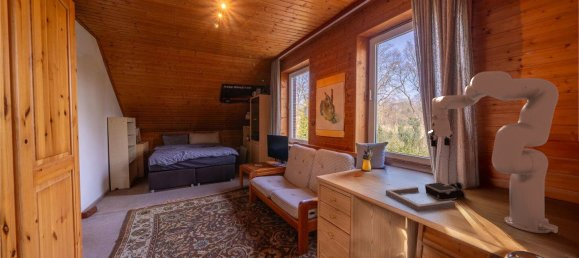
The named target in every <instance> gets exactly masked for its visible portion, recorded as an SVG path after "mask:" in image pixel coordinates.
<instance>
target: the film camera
mask: <svg viewBox="0 0 579 258" xmlns="http://www.w3.org/2000/svg"><path fill="white" fill-rule="evenodd" d="M424 189H425V194H427V195H428V196H431V197H433V198H435V199H437V200H438V201H439V202H442V201H450V200H452V201H454V200H457V199H461V198H466V197H467V194H466V192H465V191H464V190H462V189H464V184H463V182H461V181H457V182H455V183H448V184H447V183H441V182H432V183H427V184H426V183H425V184H424Z"/></svg>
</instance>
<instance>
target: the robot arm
mask: <svg viewBox="0 0 579 258" xmlns="http://www.w3.org/2000/svg"><path fill="white" fill-rule="evenodd" d="M487 96H488V97H491V98H494V99H497V100H500V101H501V100H502V101H521V100H526V103H525V104H524V105H523V107H522V108H521V110H520V112H519V117H518V121H517V123H508V124H504V125H503V126H501V127H500V128H499V129H498V130H497V132H496V134H495V138H494V144H493V149H492V155H491V164H492V166H493V168H494V169H495V170H496V171H498V172H499V173H500V174H506V175H510V177H509V215H508V216H505V217H504V222H505V223H506V224H507V225H509V226H511V227H513V228H516V229H519V230H522V231H525V232H529V233H538V234H549V233H551V232H552V233H555V234H557V233H558V231H559V226H557V225H554V224H551V223H550V222H549V219H548V218H546V217H545V214H546V213H545V187H546V186H545V185H546V183H545V182H546V177H547V176H546V175H547V171H548V168H549V160H548V157H547V156H546V155H545V153H543V152H541V151H540V150H537V149H533V147H540V146H543V145H544V144H546V143H547V141H548V140H549V137H550V132H551V127H552V123H553V122H552V121H553V117H554V113H555V110H556V108H557V107H556V106H557V104H558V101H559V97H560V96H559V89H558V88H557V86H556V85H555V84H554V83H553V82H551V81H549V80H547V79H543V78H537V77H523V78H512V76H511V74H509V72H506V71H499V70H495V71H492V70H491V71H482V72H478V73H477V74H475V75H474V76H473V77H472V78H471V80H470V83H469V84H467V86H466V87H465V93H463V94H459V95H458V94H456V95H455V94H454V95H445V96H444V95H443V96H439V97H434V98H433V99H432V100H431V101H432V103H431V104H432V105H431V108H432V109H431V110H432V116H431V119H432V120H431V125H430V131H428V132H427V136H428V139H429V140H430V147H433V148H436V147H437V140H436V139H437V138H444V139H443V145H444V146H448V147H450V146H451V139H452V136H453V134H454V131H452V130H451V125H450V121H449V113H448V111H449V110H452V109H453V110H455V109H465V108H467V107H470V106H473V105H475V104H476V103H478V102H479V101H480V99H482V98H484V97H487Z"/></svg>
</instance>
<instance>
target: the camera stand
mask: <svg viewBox="0 0 579 258" xmlns="http://www.w3.org/2000/svg"><path fill="white" fill-rule="evenodd" d="M417 192H419V187H418V186H411V187H401V188H400V187H399V188H393V189H385V194H386V195H387V194H388V195H387V196H389V195H390V196H392V197H393V198H392V197H391V198H392V199H394V198H395V200H396V199H397V200H396V201H398V200H399V201H398V202H400V203H402V204H404V205H406V206H407V205H408V207H409V206H410V209H413V210H415V211H416V212H427V211H432V210H441V209H448V208H453V207H454V208H455V207H456V201H454V200H445V201H436V202H428V203H423V204H420V203H417V202H416V201H413V200H410V199H409V198H406V197H405V196H402V195H400V194H401V193H403V194H408V193H409V194H410V193H417ZM390 196H389V197H390Z"/></svg>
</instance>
